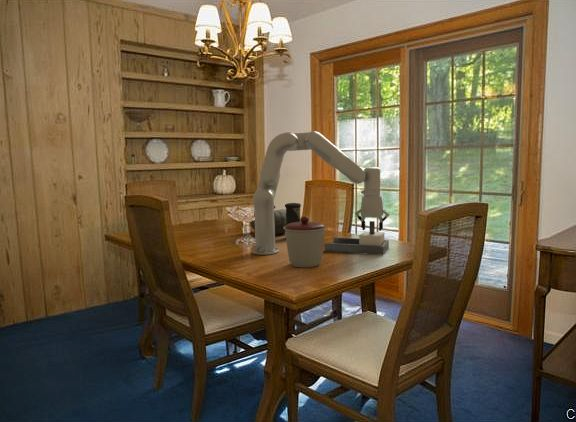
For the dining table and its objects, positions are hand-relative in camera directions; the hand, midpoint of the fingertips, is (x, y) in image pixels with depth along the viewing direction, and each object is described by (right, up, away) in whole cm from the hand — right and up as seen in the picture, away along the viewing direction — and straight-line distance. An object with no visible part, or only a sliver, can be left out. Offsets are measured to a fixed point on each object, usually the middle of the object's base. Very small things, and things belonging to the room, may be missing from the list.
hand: (372, 229), depth 214 cm
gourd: (-50, -5, +54) cm, 74 cm away
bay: (-7, -10, +4) cm, 12 cm away
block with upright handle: (0, -9, +1) cm, 9 cm away
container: (-37, -6, +38) cm, 53 cm away
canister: (-33, -14, -24) cm, 43 cm away
